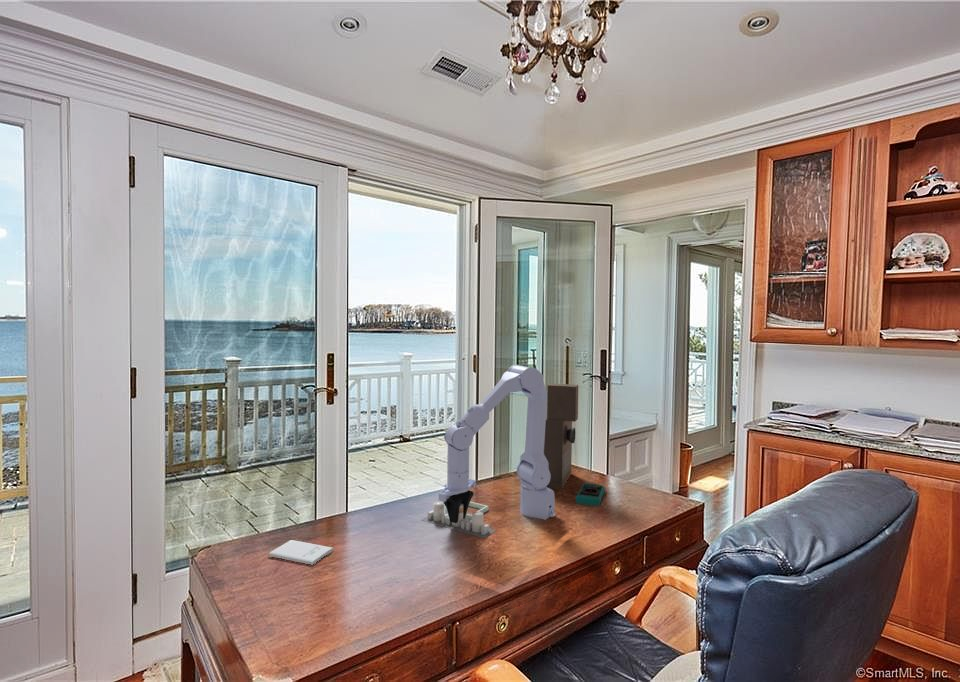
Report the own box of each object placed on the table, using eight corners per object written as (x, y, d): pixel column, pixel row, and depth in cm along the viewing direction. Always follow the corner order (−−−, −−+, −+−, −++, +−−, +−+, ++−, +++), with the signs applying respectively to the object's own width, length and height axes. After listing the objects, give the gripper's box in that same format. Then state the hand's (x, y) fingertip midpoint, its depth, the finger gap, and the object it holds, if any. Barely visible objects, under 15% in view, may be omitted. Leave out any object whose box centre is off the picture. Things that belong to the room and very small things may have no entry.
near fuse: (485, 530, 135) (485, 513, 135) (479, 533, 132) (479, 516, 132) (475, 527, 137) (476, 510, 137) (469, 531, 134) (469, 514, 134)
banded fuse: (465, 524, 139) (465, 504, 138) (458, 528, 136) (459, 507, 136) (456, 521, 140) (456, 502, 140) (449, 525, 138) (449, 505, 137)
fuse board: (496, 534, 135) (496, 523, 135) (484, 542, 130) (484, 531, 130) (434, 517, 146) (434, 507, 146) (420, 524, 141) (420, 513, 141)
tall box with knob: (573, 491, 170) (575, 386, 169) (532, 486, 175) (533, 384, 174) (582, 475, 188) (583, 380, 187) (544, 470, 193) (545, 378, 192)
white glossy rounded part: (446, 519, 142) (446, 503, 142) (439, 522, 140) (439, 506, 139) (437, 516, 144) (437, 501, 144) (430, 520, 141) (431, 504, 141)
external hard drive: (291, 545, 129) (333, 553, 125) (268, 559, 121) (312, 568, 117) (291, 539, 129) (333, 546, 125) (268, 552, 121) (312, 561, 117)
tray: (488, 514, 149) (488, 506, 149) (471, 524, 142) (471, 515, 142) (463, 507, 154) (463, 499, 154) (445, 517, 147) (445, 508, 147)
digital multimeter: (605, 493, 170) (605, 484, 170) (599, 508, 156) (599, 498, 156) (583, 490, 173) (583, 481, 173) (575, 504, 159) (575, 495, 159)
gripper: (461, 461, 146) (461, 508, 146) (429, 474, 134) (429, 525, 134) (482, 465, 142) (481, 513, 142) (451, 479, 130) (450, 531, 130)
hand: (457, 519), depth 138 cm, fingers closed on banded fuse, 3 cm apart
